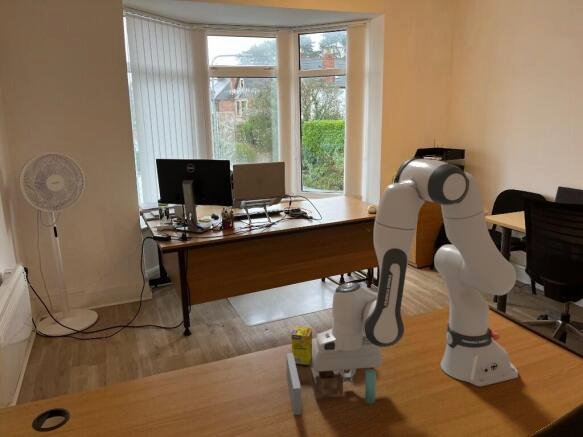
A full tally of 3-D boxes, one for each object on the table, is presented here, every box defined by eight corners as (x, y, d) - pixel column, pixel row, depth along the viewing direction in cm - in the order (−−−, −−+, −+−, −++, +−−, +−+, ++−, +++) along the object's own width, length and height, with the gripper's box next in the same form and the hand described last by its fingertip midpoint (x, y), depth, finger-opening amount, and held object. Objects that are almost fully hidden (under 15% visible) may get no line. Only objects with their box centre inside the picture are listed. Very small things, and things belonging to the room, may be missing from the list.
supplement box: (309, 367, 139) (309, 336, 137) (291, 365, 140) (291, 334, 138) (312, 357, 145) (312, 327, 142) (295, 355, 146) (294, 326, 144)
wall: (293, 376, 134) (292, 352, 133) (301, 414, 117) (300, 388, 115) (286, 376, 134) (286, 353, 132) (293, 414, 117) (293, 388, 115)
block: (336, 380, 132) (337, 365, 131) (343, 396, 124) (343, 380, 123) (311, 382, 131) (310, 367, 130) (315, 398, 123) (315, 383, 122)
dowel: (373, 397, 124) (374, 368, 122) (376, 403, 121) (377, 374, 119) (363, 398, 123) (364, 369, 121) (366, 404, 121) (367, 375, 119)
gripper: (378, 330, 129) (377, 371, 132) (311, 335, 127) (311, 377, 130) (385, 340, 123) (384, 384, 126) (314, 345, 121) (315, 389, 124)
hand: (346, 380), depth 128 cm, fingers closed
